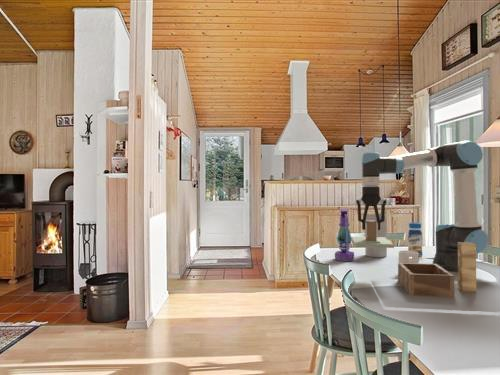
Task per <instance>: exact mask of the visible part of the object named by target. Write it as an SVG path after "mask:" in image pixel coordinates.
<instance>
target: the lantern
mask: <svg viewBox="0 0 500 375" xmlns="http://www.w3.org/2000/svg"><path fill="white" fill-rule="evenodd" d="M339 212H340V217H339V224H338V225H339V228H338V233H337V238H336V241H337V243H338V245H339V250H337V251H335V253H334V259H335V260H336V261H339V262H350V261H351V262H352V261H354V259H355V252H354V251H351V249H350V244H351V243H352V241H351V237H352V236H351V231H350V228H349V227H350V223H349V217H348V212H349V209H347V208H346V209H345V208H343V209H342V208H341V209H340V210H339Z"/></svg>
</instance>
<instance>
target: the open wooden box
mask: <svg viewBox="0 0 500 375" xmlns="http://www.w3.org/2000/svg"><path fill="white" fill-rule="evenodd" d="M397 266H398V267H397V277H398V278H397V281H398V282H399V284H401V286H402V287H403V289H404V290H405V291H406V292H407V293H408V295H409V296H424V297H444V298H445V297H447V298H448V297H449V298H453V297H454V298H455V275H454V274H452V273H450V272H449V271H448V270H445V269H443V268H442V267H440V266H439V265H437V264H432V263H422V262H421V263H420V262H419V263H399V262H398V263H397Z"/></svg>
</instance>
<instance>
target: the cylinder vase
mask: <svg viewBox="0 0 500 375" xmlns="http://www.w3.org/2000/svg"><path fill="white" fill-rule="evenodd" d="M379 218H380V219H381V214H379ZM366 220H375V221H376V223H377V220H376V215H375V214H367V217H366ZM365 223H366V221H365ZM387 228H388V227H387V215H386V214H385V221H384V222H381V223H380V230H378V237H385V238H386V239H388V237H387V232H388V231H387ZM364 248H365V251H364V252H365V256H366V257H370V258H380V259H381V258H385V257H387V255H388V251H387V250H388V248H375V247H364Z"/></svg>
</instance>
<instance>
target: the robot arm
mask: <svg viewBox="0 0 500 375" xmlns="http://www.w3.org/2000/svg"><path fill="white" fill-rule="evenodd" d="M483 156H484V153H483V149H482V147H481V146H480V144H478V143H477V142H475V141H473V140H462V141H457V142H451V143H450V142H449V143H445V144H442V145H438V146H435V147H432V148H427V149H425V150H424V151H418V152H412V153H405V154H399V155H392V156H387V157H386V156H385V157H382V156H380V153H379V152H364V153H363V154H362V159H361V160H362V161H361V166H362V167H361V168H362V169H361V172H362V174H361V175H362V176H361V177H362V180H361V181H362V184H361V185H362V190H361V191H362V196H361V198H360V199H357V200H355V203H356V205H357V220H358V222H360V223H361V224H362V226H361V229H362V230H364V237H367V223H365V221H366V217H367V215H368V210H369V207H373V210H374V215H376V220H377V223H376V234H377V238H378V230H380V223H381V222H384V221H385V215H386V214H385V213H386V210H385V209H386V204H387V200H385V199H382V198H381V195H380V193H381V192H380V175H384V174H385V175H386V174H388V175H389V174H395V175H396V174H401V173H403V172H404V170H408V169H409V170H410V169H416V168H421V167H427V166H428V167H429V168H435V167H449V169H450V171H451V173H453V177H454V190H455V205H456V206H455V207H456V218H457V220H456V222H455V223H450V224H446V223H445V224H437V225H436V226H435V254H434V257H433V259H432V263H431V264H437V265H439V266H440V267H442V268H443V269H445V270H446V271H448V272H449V271H451V272H458V242H465V243H473V244H476V255H477V254H480V253H483V252H484V251H485V249H487V247H488V244H489V235H488V234H487V233H486V231H484V230H483V226H482V224H481V222H479V219H478V208H477V206H478V205H477V192H476V177H475V172H476V171H477V170H478V169H479V168H478V164H480V162H482V161H481V160H482V159H483ZM362 202H363V204H364V209H363V215H362ZM379 203H380V204H381V206H380V214H379V209H378V205H379ZM379 215H381V219H380V218H379Z"/></svg>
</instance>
